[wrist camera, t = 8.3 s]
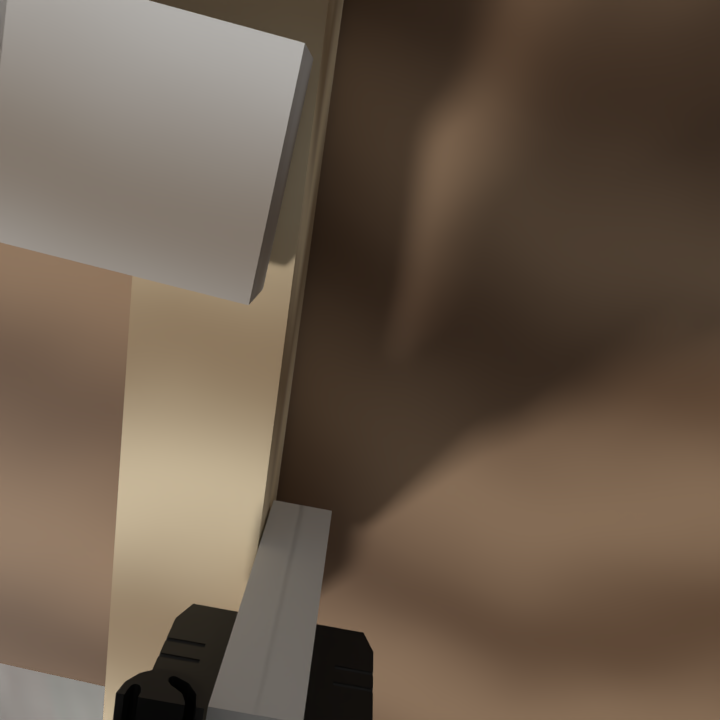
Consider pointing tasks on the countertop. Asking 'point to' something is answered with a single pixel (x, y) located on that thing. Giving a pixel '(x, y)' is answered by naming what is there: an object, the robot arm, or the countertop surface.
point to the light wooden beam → (213, 393)
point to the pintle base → (394, 329)
